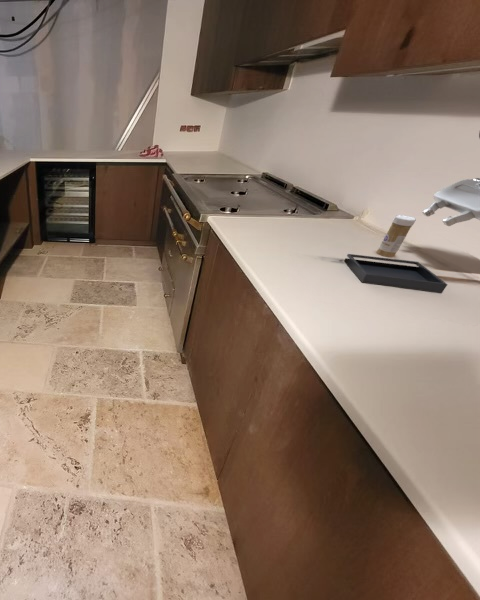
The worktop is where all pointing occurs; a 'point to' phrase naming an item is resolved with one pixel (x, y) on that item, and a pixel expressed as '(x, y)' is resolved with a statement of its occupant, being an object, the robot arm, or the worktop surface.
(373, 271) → the tray
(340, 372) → the worktop surface
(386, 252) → the sprinkles bottle
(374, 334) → the worktop surface
